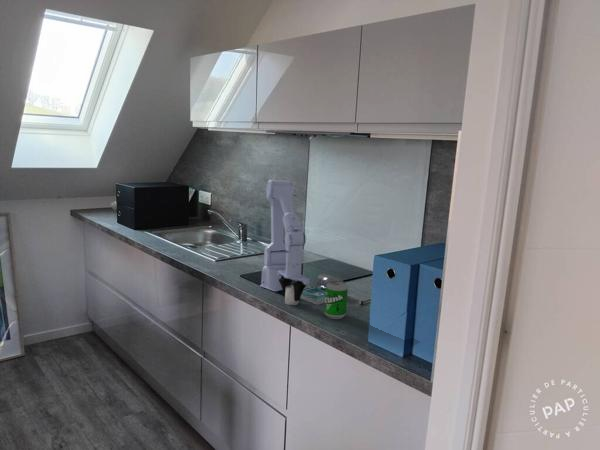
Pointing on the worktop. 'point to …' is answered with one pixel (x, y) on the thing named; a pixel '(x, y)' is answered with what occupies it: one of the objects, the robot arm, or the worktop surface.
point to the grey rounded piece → (290, 296)
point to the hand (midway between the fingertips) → (291, 298)
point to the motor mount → (318, 290)
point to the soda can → (335, 299)
